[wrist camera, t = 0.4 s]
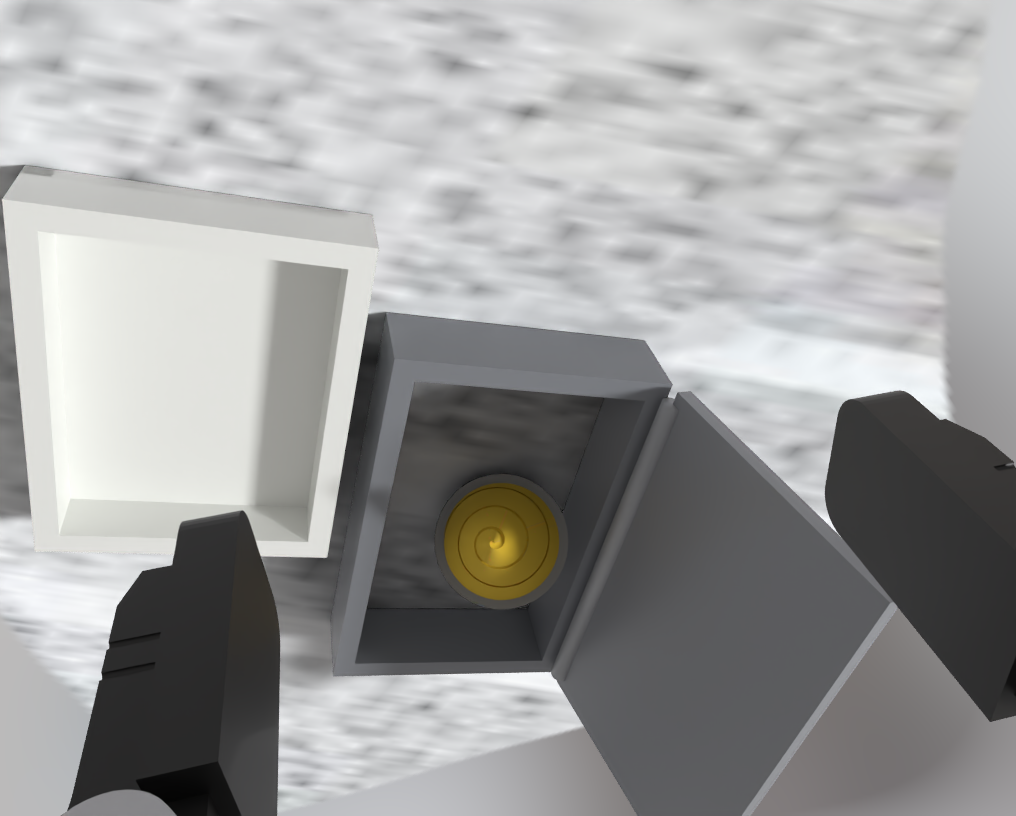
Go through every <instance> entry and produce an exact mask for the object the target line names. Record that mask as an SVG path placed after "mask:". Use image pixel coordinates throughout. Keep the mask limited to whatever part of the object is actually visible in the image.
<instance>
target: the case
mask: <svg viewBox="0 0 1016 816" xmlns="http://www.w3.org/2000/svg"><path fill="white" fill-rule="evenodd" d="M415 381H416V382H427V383H439V384H451V385H462V386H474V387H486V388H498V389H509V390H521V391H533V392H545V393H556V394H568V395H580V396H591V397H603V398H604V400H603V403H602V406H601V408H600V411H599V414H598V417H597V419H596V422H595V425H594V428H593V430H592V433H591V436H590V439H589V441H588V444H587V447H586V450H585V452H584V455H583V458H582V461H581V463H580V466H579V469H578V472H577V474H576V477H575V480H574V483H573V485H572V488H571V491H570V494H569V497H568V499H567V502H566V505H565V508H564V510H563V513H562V514H563V516H564V519H565V523H566V527H567V530H568V551H567V558H566V561H565V564H564V567H563V570H562V572H561V573H560V575H559V577H558V578H557V580H556V582H555V583H554V584H553V585H552V586H551V587H550V589H549V590H548V591H547V592H546V593H544V594H543V595H542V596H541V597H539V598H538V599H537V600H535V601H533V602H531V603H530V604H529V607H528V609H500V610H497V609H367V604H368V599H369V594H370V590H371V585H372V580H373V576H374V571H375V566H376V561H377V557H378V552H379V547H380V543H381V538H382V533H383V529H384V524H385V519H386V514H387V510H388V505H389V500H390V496H391V491H392V486H393V482H394V477H395V472H396V467H397V463H398V458H399V453H400V449H401V444H402V439H403V435H404V430H405V425H406V420H407V416H408V411H409V406H410V402H411V397H412V392H413V387H414V383H415ZM672 385H673V384H672V383H671V381H670V380H669V378H668V377H667V375H666V373H665V372H664V370H663V369H662V367H661V365H660V364H659V362H658V361H657V359H656V357H655V356H654V354H653V353H652V351H651V350H650V348H649V346H648V345H647V343H646V342H645V341H644V340H635V339H626V338H616V337H607V336H598V335H589V334H580V333H571V332H561V331H552V330H543V329H534V328H525V327H515V326H506V325H497V324H488V323H479V322H470V321H460V320H451V319H442V318H433V317H424V316H415V315H405V314H396V313H387V312H386V316H385V322H384V327H383V333H382V338H381V344H380V349H379V355H378V360H377V366H376V371H375V377H374V383H373V388H372V394H371V399H370V405H369V410H368V416H367V421H366V427H365V432H364V438H363V443H362V449H361V454H360V460H359V465H358V471H357V476H356V482H355V488H354V493H353V499H352V504H351V510H350V515H349V521H348V526H347V532H346V537H345V543H344V548H343V554H342V559H341V565H340V570H339V576H338V581H337V587H336V593H335V598H334V604H333V609H332V615H331V620H330V623H331V643H332V663H333V676H371V675H420V674H469V673H519V672H551V670H552V668H553V665H554V663H555V661H556V658H557V656H558V653H559V651H560V648H561V646H562V643H563V641H564V639H565V636H566V634H567V631H568V629H569V626H570V624H571V621H572V619H573V617H574V614H575V612H576V609H577V607H578V604H579V602H580V599H581V597H582V595H583V592H584V590H585V587H586V585H587V582H588V580H589V577H590V575H591V573H592V570H593V568H594V565H595V563H596V560H597V558H598V555H599V553H600V551H601V548H602V546H603V543H604V541H605V538H606V536H607V533H608V531H609V529H610V526H611V524H612V521H613V519H614V516H615V514H616V512H617V509H618V507H619V504H620V502H621V499H622V497H623V494H624V492H625V490H626V487H627V485H628V482H629V480H630V477H631V475H632V472H633V470H634V468H635V465H636V463H637V460H638V458H639V455H640V453H641V450H642V448H643V446H644V443H645V441H646V438H647V436H648V433H649V431H650V428H651V426H652V424H653V421H654V419H655V416H656V414H657V411H658V409H659V406H660V404H661V402H662V399H663V398H667V397H668V394H669V392H670V390H671V387H672Z"/></svg>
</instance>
